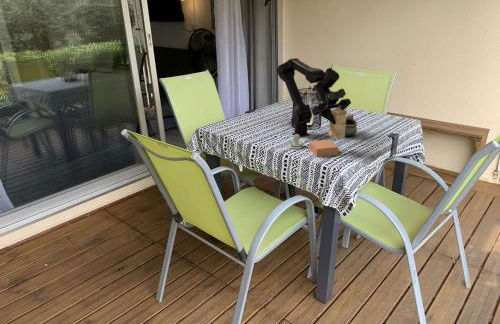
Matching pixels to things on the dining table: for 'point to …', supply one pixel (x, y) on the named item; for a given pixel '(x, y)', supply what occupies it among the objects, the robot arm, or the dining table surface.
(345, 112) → the birch block
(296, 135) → the pacifier
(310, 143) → the terracotta block
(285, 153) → the dining table surface
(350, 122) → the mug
